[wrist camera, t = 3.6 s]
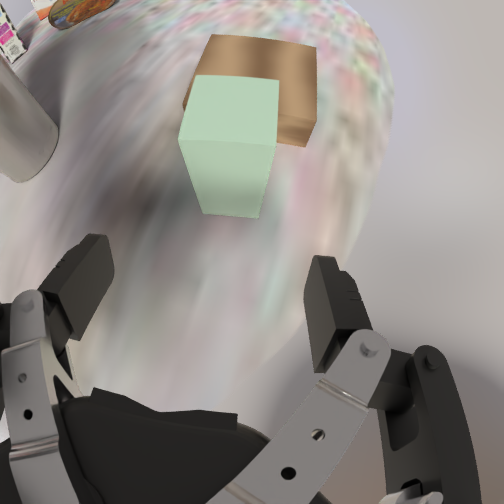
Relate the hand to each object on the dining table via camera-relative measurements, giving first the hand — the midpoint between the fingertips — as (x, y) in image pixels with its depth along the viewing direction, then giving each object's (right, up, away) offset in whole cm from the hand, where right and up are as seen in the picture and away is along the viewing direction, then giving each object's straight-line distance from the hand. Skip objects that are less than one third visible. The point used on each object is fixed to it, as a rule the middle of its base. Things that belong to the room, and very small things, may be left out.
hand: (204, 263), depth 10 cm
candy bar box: (-51, +45, +20) cm, 71 cm away
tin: (-31, +48, +22) cm, 62 cm away
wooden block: (+2, +18, +18) cm, 25 cm away
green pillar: (0, +6, +15) cm, 16 cm away
